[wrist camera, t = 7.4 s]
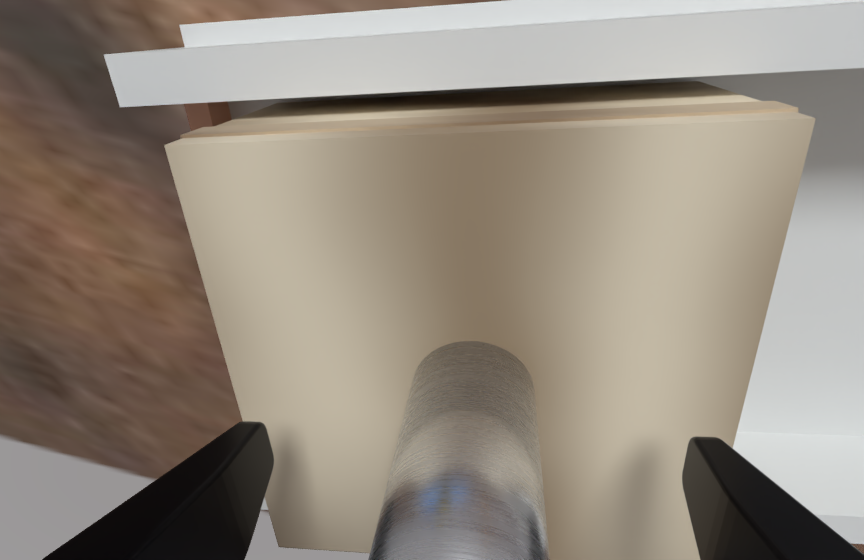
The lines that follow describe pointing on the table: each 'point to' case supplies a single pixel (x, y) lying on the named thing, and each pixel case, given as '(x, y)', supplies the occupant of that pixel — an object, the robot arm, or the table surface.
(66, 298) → the table surface
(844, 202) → the bay
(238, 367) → the beige knobbed block
